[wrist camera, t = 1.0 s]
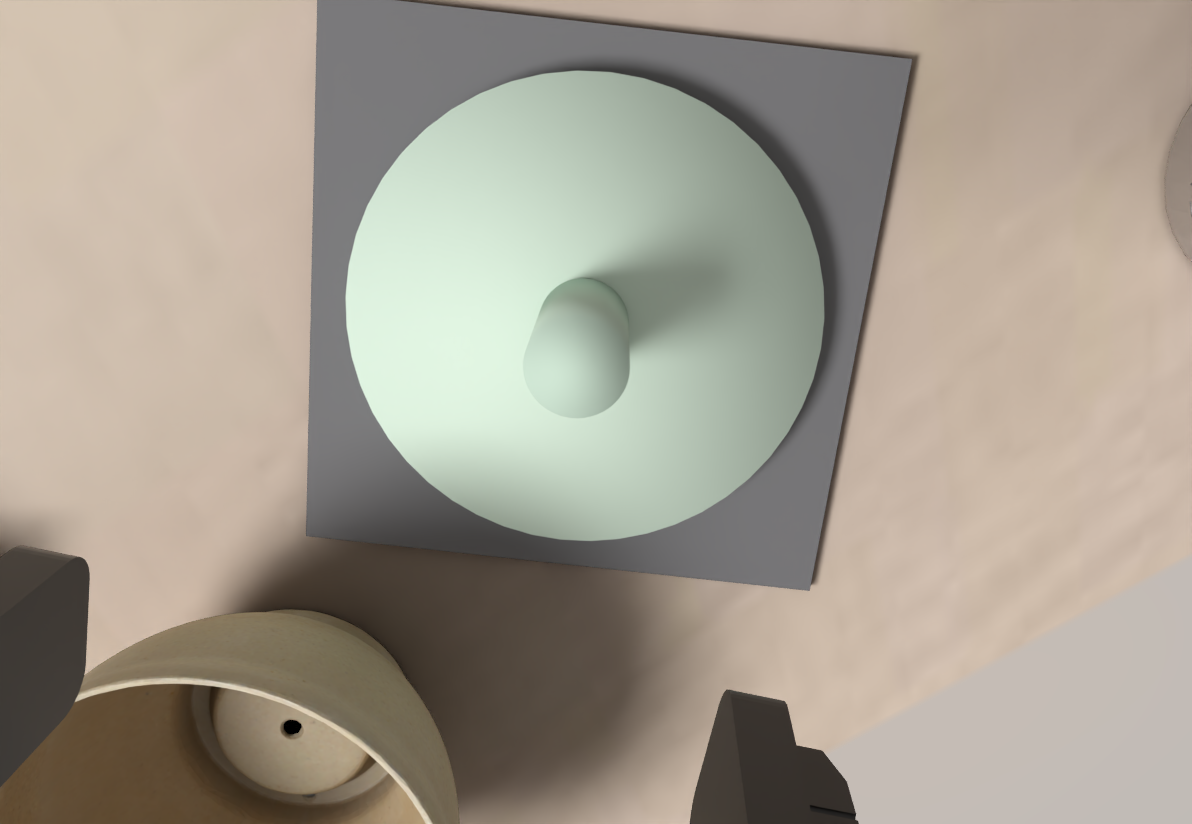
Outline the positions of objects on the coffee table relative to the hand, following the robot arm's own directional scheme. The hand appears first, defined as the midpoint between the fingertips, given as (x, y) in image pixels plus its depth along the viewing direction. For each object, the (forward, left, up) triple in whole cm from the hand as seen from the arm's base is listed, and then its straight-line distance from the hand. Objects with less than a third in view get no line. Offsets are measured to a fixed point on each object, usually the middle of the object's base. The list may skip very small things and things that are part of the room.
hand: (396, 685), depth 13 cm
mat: (-2, +1, -26) cm, 26 cm away
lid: (-2, +1, -25) cm, 25 cm away
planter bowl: (+8, +19, -26) cm, 33 cm away
